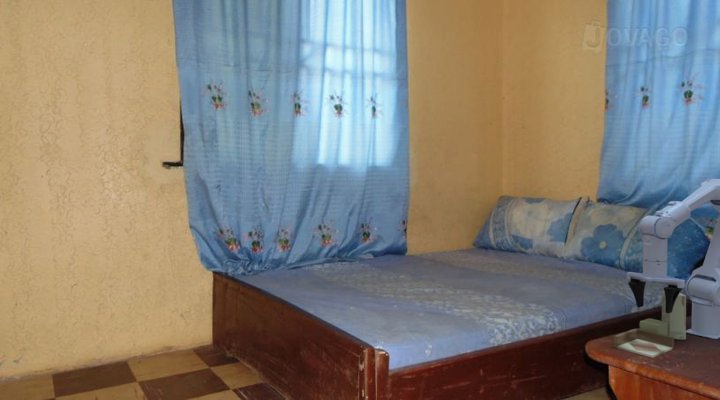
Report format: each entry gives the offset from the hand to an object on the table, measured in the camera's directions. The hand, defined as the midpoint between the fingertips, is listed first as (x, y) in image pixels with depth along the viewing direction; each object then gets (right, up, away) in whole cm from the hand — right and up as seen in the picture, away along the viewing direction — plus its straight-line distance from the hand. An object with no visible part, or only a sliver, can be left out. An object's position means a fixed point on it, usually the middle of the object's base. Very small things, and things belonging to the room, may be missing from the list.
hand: (654, 309), depth 146 cm
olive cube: (0, -9, +1) cm, 9 cm away
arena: (-6, -9, -6) cm, 12 cm away
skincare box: (+7, -8, +3) cm, 12 cm away
